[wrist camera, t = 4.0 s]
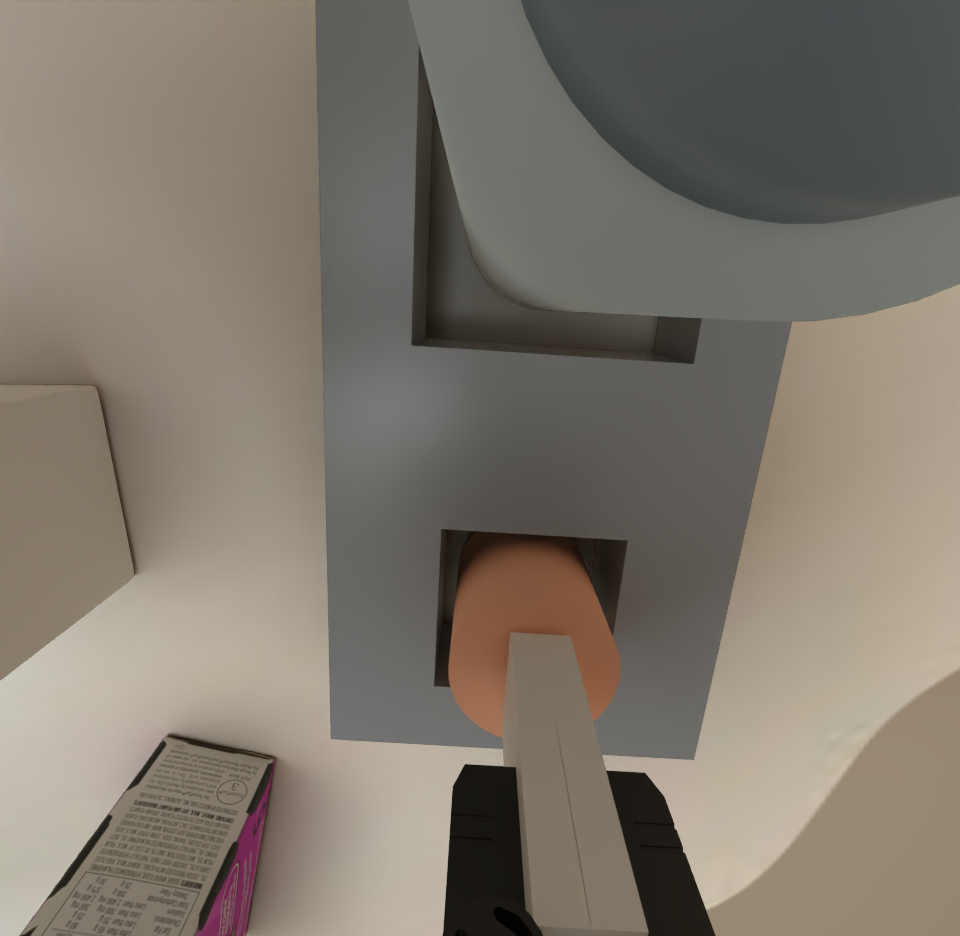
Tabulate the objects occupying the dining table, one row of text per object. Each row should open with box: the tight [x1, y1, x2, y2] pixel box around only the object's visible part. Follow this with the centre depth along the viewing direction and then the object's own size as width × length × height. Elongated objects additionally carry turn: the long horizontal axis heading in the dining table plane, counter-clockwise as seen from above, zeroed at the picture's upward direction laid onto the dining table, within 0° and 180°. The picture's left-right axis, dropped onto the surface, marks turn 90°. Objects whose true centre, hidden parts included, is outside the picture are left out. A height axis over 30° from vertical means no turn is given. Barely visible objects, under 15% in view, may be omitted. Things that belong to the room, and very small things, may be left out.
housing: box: [316, 0, 792, 760], centre depth 16 cm, size 22×12×4 cm, turn 176°
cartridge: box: [408, 0, 960, 321], centre depth 9 cm, size 5×5×15 cm
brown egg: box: [448, 531, 620, 738], centre depth 16 cm, size 4×4×6 cm
